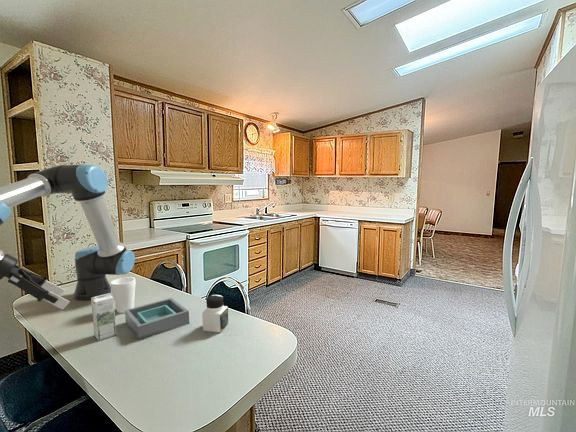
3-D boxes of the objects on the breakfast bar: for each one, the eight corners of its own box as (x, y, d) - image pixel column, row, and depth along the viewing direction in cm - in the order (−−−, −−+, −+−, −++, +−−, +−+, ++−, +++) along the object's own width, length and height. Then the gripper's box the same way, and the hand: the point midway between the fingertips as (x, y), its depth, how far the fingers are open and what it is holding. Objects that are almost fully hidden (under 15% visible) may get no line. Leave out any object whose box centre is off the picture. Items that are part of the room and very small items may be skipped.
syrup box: (112, 329, 111) (108, 292, 110) (116, 335, 107) (113, 296, 105) (94, 335, 107) (90, 296, 106) (98, 341, 103) (94, 301, 101)
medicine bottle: (221, 333, 108) (219, 301, 106) (202, 331, 109) (201, 299, 108) (228, 323, 115) (227, 293, 113) (211, 322, 116) (210, 292, 115)
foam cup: (115, 316, 122) (112, 286, 120) (110, 309, 129) (108, 280, 127) (140, 310, 128) (138, 280, 127) (134, 303, 135) (132, 275, 134)
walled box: (125, 322, 117) (124, 310, 116) (171, 308, 129) (171, 297, 128) (139, 340, 104) (138, 326, 103) (189, 323, 115) (188, 311, 115)
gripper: (-14, 265, 94) (51, 298, 106) (-23, 285, 76) (58, 322, 88) (7, 246, 97) (68, 280, 109) (3, 261, 79) (78, 300, 90)
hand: (64, 299), depth 98 cm, fingers open, 13 cm apart
